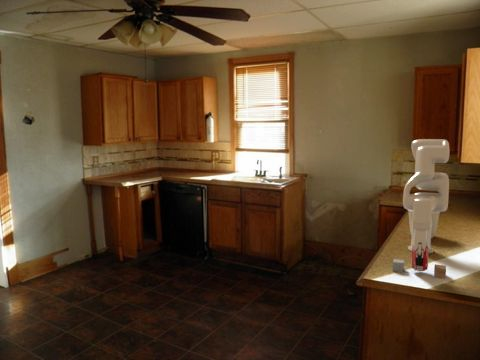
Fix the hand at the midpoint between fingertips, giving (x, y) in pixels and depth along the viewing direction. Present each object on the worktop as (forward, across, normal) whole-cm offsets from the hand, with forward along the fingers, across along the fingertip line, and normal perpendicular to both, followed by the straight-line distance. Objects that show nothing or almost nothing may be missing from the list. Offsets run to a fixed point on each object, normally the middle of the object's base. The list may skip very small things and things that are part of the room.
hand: (419, 262), depth 185 cm
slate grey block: (+5, +1, -9) cm, 10 cm away
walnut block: (+5, +1, +8) cm, 10 cm away
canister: (+6, -64, -1) cm, 65 cm away
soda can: (+3, 0, 0) cm, 3 cm away
